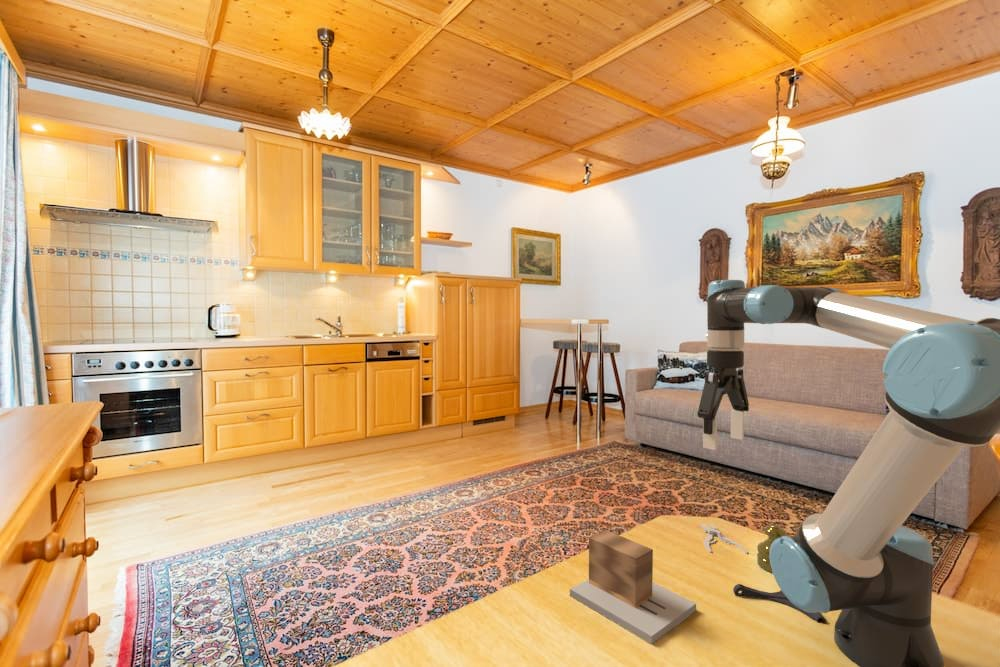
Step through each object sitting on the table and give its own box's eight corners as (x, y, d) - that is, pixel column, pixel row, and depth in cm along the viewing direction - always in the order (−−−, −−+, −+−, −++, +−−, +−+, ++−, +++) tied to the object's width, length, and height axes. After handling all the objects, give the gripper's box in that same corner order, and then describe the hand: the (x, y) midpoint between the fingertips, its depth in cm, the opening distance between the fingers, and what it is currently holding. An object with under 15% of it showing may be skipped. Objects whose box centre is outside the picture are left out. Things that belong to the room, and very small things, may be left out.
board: (696, 610, 99) (696, 603, 99) (651, 644, 88) (651, 635, 88) (615, 570, 114) (615, 564, 114) (569, 595, 104) (569, 588, 104)
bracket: (724, 579, 112) (725, 567, 112) (795, 586, 109) (795, 573, 109) (744, 617, 98) (744, 604, 97) (825, 626, 95) (826, 612, 95)
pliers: (709, 547, 123) (689, 522, 138) (709, 554, 123) (689, 528, 138) (749, 549, 122) (724, 523, 137) (748, 555, 122) (724, 529, 137)
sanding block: (652, 596, 101) (652, 549, 100) (635, 607, 97) (635, 558, 97) (605, 573, 110) (606, 529, 110) (588, 582, 106) (589, 537, 106)
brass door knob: (753, 567, 116) (754, 526, 115) (761, 556, 121) (761, 516, 121) (788, 578, 111) (789, 535, 110) (795, 566, 116) (795, 525, 116)
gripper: (732, 346, 119) (731, 432, 120) (681, 350, 103) (680, 449, 104) (765, 348, 114) (763, 437, 114) (716, 352, 97) (714, 457, 98)
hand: (723, 443), depth 109 cm, fingers open, 13 cm apart
